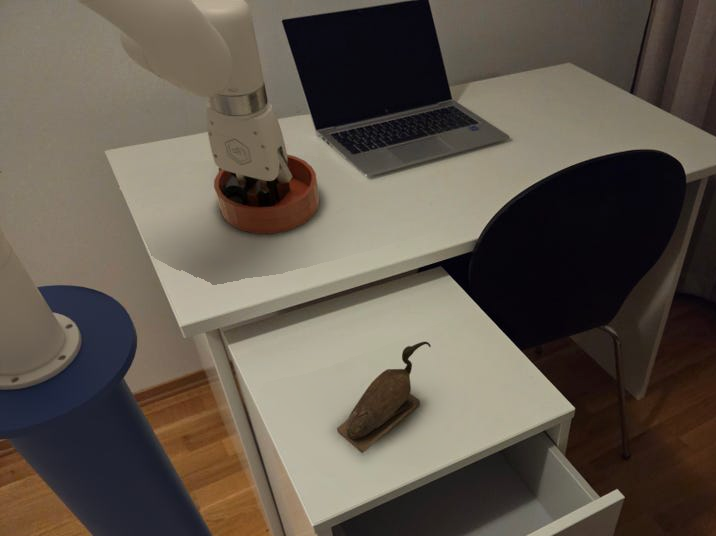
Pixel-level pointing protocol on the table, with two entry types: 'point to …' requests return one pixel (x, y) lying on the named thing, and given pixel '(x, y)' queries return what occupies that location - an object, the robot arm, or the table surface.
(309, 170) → the bowl
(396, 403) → the figurine
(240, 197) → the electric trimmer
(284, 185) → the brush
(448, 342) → the table surface
